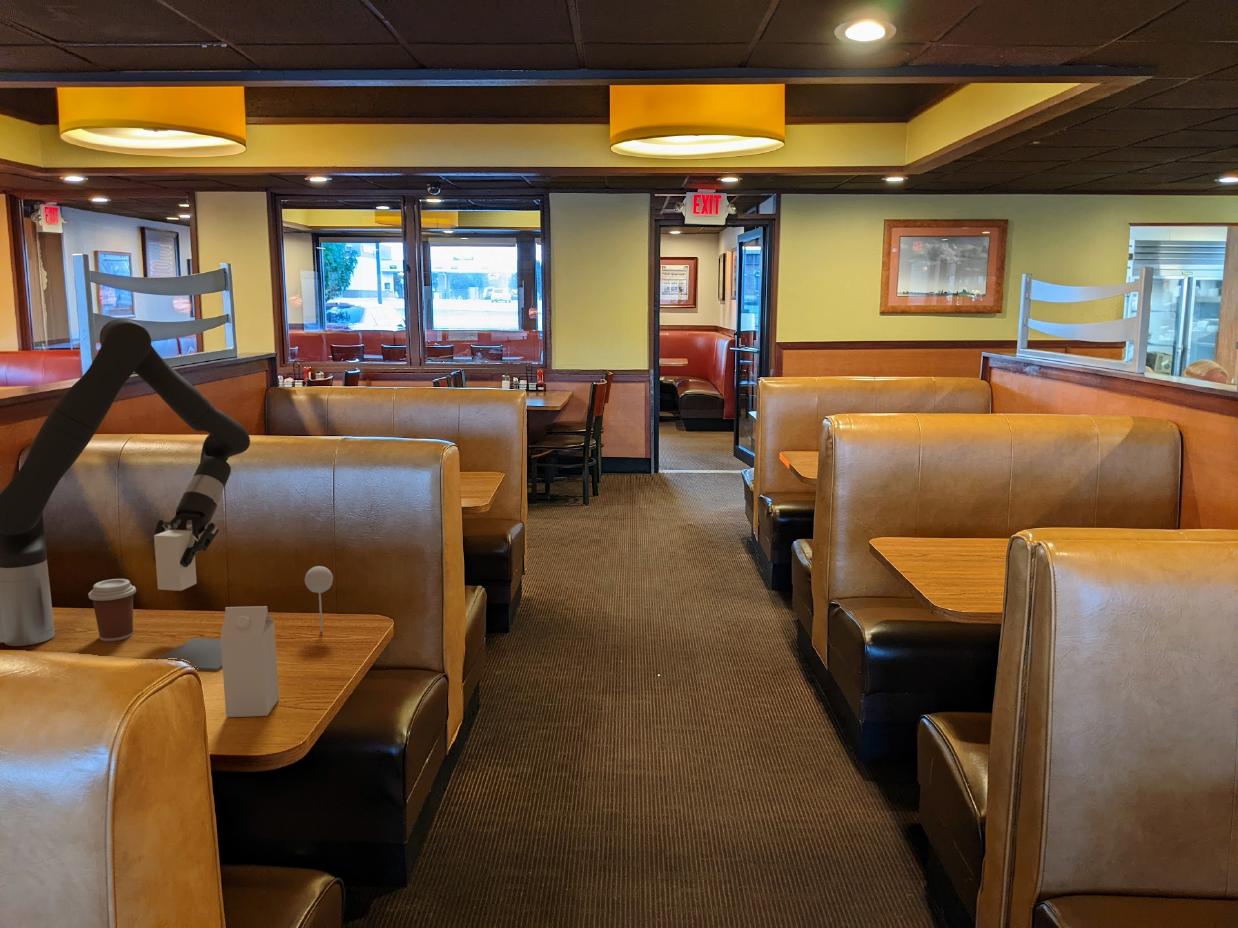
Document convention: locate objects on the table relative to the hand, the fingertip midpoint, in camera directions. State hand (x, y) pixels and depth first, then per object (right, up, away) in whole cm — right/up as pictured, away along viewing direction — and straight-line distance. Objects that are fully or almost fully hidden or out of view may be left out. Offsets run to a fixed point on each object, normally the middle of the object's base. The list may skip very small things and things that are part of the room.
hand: (170, 564), depth 196 cm
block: (0, -5, +3) cm, 6 cm away
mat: (+11, -18, -8) cm, 23 cm away
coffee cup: (-13, -16, +3) cm, 21 cm away
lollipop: (+31, -16, +5) cm, 35 cm away
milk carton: (+32, -22, -34) cm, 51 cm away
